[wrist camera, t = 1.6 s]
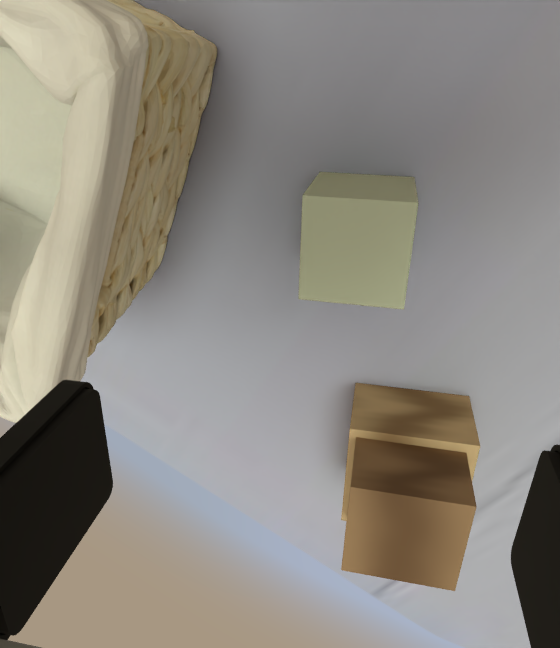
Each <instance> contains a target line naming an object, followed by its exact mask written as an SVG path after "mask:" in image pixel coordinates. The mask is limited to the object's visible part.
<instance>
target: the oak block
mask: <svg viewBox="0 0 560 648" xmlns="http://www.w3.org/2000/svg"><path fill="white" fill-rule="evenodd" d="M356 437H360V438H367V439H374V440H381V441H388V442H395V443H402V444H409V445H416V446H423V447H430V448H437V449H444V450H451V451H458V452H465V453H467V459H468V464H469V469H470V475H471V480H472V479H473V475H474V471H475V466H476V462H477V458H478V454H479V449H480V443H479V438H478V434H477V429H476V425H475V421H474V416H473V412H472V407H471V403H470V398H469V396H463V395H454V394H446V393H438V392H429V391H421V390H413V389H404V388H396V387H387V386H379V385H371V384H362V383H356V384H355V392H354V400H353V408H352V416H351V424H350V433H349V443H348V454H347V465H346V475H345V486H344V496H343V507H342V518H341V520H344V521H347V513H348V504H349V495H350V486H351V477H352V468H353V459H354V450H355V441H356Z"/></svg>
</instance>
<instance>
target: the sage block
mask: <svg viewBox="0 0 560 648" xmlns="http://www.w3.org/2000/svg"><path fill="white" fill-rule="evenodd" d="M417 210H418V197H417V191H416V185H415V178H414V177H403V176H386V175H368V174H350V173H332V172H319V174H318V175H317V176H316V178H315V179H314V180H313V182H312V183H311V185H310V186H309V187H308V189H307V190H306V191H305V193H304V194H303V197H302V222H301V248H300V274H299V299H302V300H312V301H323V302H333V303H343V304H353V305H363V306H374V307H384V308H394V309H404V304H405V297H406V290H407V283H408V275H409V268H410V261H411V254H412V246H413V239H414V232H415V224H416V217H417Z"/></svg>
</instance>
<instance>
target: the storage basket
mask: <svg viewBox="0 0 560 648" xmlns="http://www.w3.org/2000/svg"><path fill="white" fill-rule="evenodd" d="M216 57H217V47H216V46H215V45H214V44H213V43H212V42H210V41H208V40H207V39H205V38H204V37H201V36H199V35H197V34H195V32H194V30H186V29H184V28H182V27H180V26H179V25H178V24H176V23H175V22H174V21H173V20H172V19H170V18H169V17H167V16H165V15H163V14H161V13H159V12H157V11H155V10H152V9H146V8H144V7H143V6H141V5H140V4H138V3H136V2H135V1H133V0H0V417H2V418H4V419H7V420H9V421H12V422H14V423H17V422H18V421H19V420H20V419H21V418H22V417H23V416H24V415H25V414H26V413H27V412H29V411H30V410H31V409H32V408H33V407H34V406H35V405H36V404H37V403H38V402H39V401H40V400H41V399H42V398H44V397H45V396H46V395H47V394H48V393H49V392H50V391H51V390H52V389H53V388H54V387H55V386H56V385H57V384H58V383H60V382H61V381H62V380H73V381H81V379H82V377H83V375H84V373H85V370H86V363H87V357H89V356H90V355H91V354H92V353H93V352H94V351H95V348H96V345H97V343H99V342H101V341H102V340H103V339H104V338H105V337H106V335H107V334H108V333H109V331H110V330H111V328H112V327H113V326H114V324H115V322H116V319H118V318H119V317H121V316H122V315H123V314H124V312H125V311H126V309H127V308H128V307H129V306H130V305H131V303H132V300H133V299H134V298H135V297H136V296H137V294H138V291H140V290H141V289H142V288H143V287H144V286H145V284H146V283H147V282H149V281H150V280H151V278H152V277H153V274H154V272H155V271H156V270H157V269H158V267H159V265H160V264H161V261H162V258H163V255H164V252H165V249H166V245H167V235H168V233H169V232H170V229H171V226H172V223H173V219H174V216H175V212H176V207H177V201H178V198H179V197H180V195H181V192H182V190H183V186H184V183H185V179H186V176H187V171H188V165H189V160H190V157H191V155H192V152H193V149H194V146H195V142H196V139H197V134H198V130H199V126H200V120H201V115H202V113H203V111H204V109H205V107H206V105H207V103H208V98H209V94H210V89H211V84H212V76H213V68H214V65H215V60H216Z"/></svg>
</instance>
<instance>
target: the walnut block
mask: <svg viewBox="0 0 560 648" xmlns="http://www.w3.org/2000/svg"><path fill="white" fill-rule="evenodd" d="M475 510H476V502H475V496H474V491H473V486H472V480H471V475H470V469H469V464H468V459H467V453H465V452H458V451H451V450H444V449H437V448H430V447H423V446H416V445H409V444H402V443H395V442H388V441H381V440H374V439H367V438H360V437H356V441H355V450H354V459H353V468H352V477H351V486H350V495H349V504H348V513H347V522H346V532H345V541H344V550H343V559H342V569H341V570H344V571H349V572H354V573H360V574H365V575H371V576H376V577H382V578H387V579H392V580H398V581H403V582H409V583H414V584H420V585H425V586H430V587H436V588H441V589H447V590H452V591H455V588H456V584H457V581H458V577H459V573H460V569H461V565H462V561H463V557H464V553H465V549H466V545H467V542H468V538H469V534H470V530H471V526H472V522H473V518H474V514H475Z"/></svg>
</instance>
